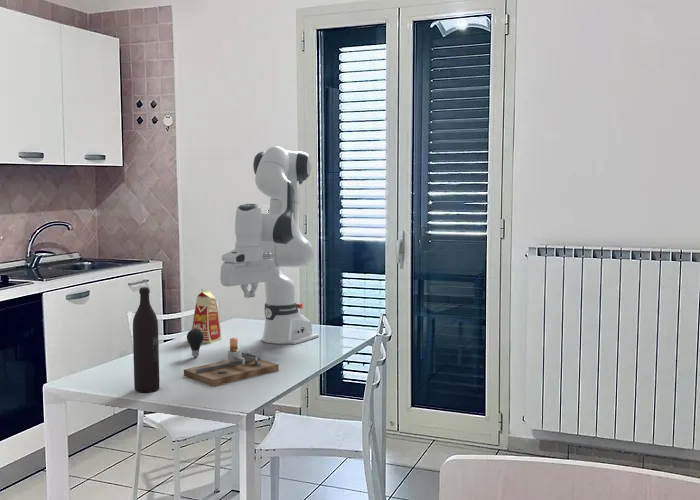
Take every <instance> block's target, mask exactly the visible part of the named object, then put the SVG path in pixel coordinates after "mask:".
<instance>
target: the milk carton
mask: <svg viewBox="0 0 700 500" xmlns="http://www.w3.org/2000/svg"><path fill="white" fill-rule="evenodd" d="M220 321H221V320H220V313H219V307H218V302H217V297H215V296H214V295H213V294H212V290H206V289H201V292H200V293H198V295H196V303H195V308H194V313H193V320H192V326H191V330H192V329H199V330H200V331H201V332H202V333H203V341H202V343H201V344H213V343H215V342H218V341H220V340H222V329H221V323H220Z"/></svg>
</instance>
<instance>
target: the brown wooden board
mask: <svg viewBox="0 0 700 500" xmlns="http://www.w3.org/2000/svg"><path fill="white" fill-rule="evenodd" d="M226 362H230V361H229V360H228V359H226V360H222V361H217V362H212V363H208V364H202V365H200V366H195V367H189V368H185V369H183V377H184V378H185V377H186V378H189V379H191V380H194V381H197V382H199V383H202V384H206V385H208V386H211V387H216V386H221V385H225V384H228V383H233V382H237V381H241V380H245V379H250V378H254V377H258V376H261V375H266V374H271V373H273V372H278V371H279V369H280V368H279V363H275V362H272V361H268V360H266V359H265V360H264V359H261V358H260V360H257V364H255V361H252V362H247V363H245V367H242V364H239V365H234V366H230V367H225V368H221V369H216V370H212V371H208V372H203V373H199V374H197V373H196V369H198V368H203V367H207V366H212V365H217V364H221V363H226Z"/></svg>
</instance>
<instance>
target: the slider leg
mask: <svg viewBox="0 0 700 500" xmlns="http://www.w3.org/2000/svg"><path fill="white" fill-rule="evenodd" d="M238 340H239V339H238V338H237V337H230V338H229V350H227V351H228V352H227V353H228V354H227V357H228V358H227V360H229V361H233V362H235V361H239V360H240V361H242V367H245V358H242V356H241V355H240V351H239V349H238V346H239V345H238V344H239V343H238Z"/></svg>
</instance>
